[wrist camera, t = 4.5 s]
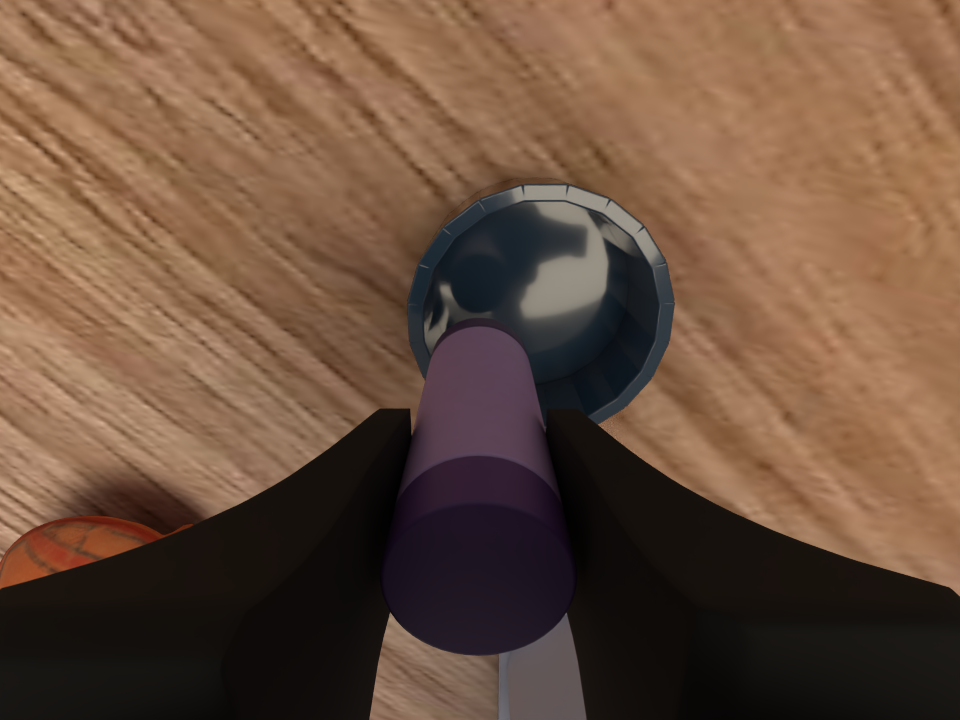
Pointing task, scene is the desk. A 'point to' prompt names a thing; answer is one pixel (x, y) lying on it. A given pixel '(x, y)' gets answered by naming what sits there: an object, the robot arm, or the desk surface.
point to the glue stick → (478, 504)
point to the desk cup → (551, 290)
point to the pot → (71, 546)
